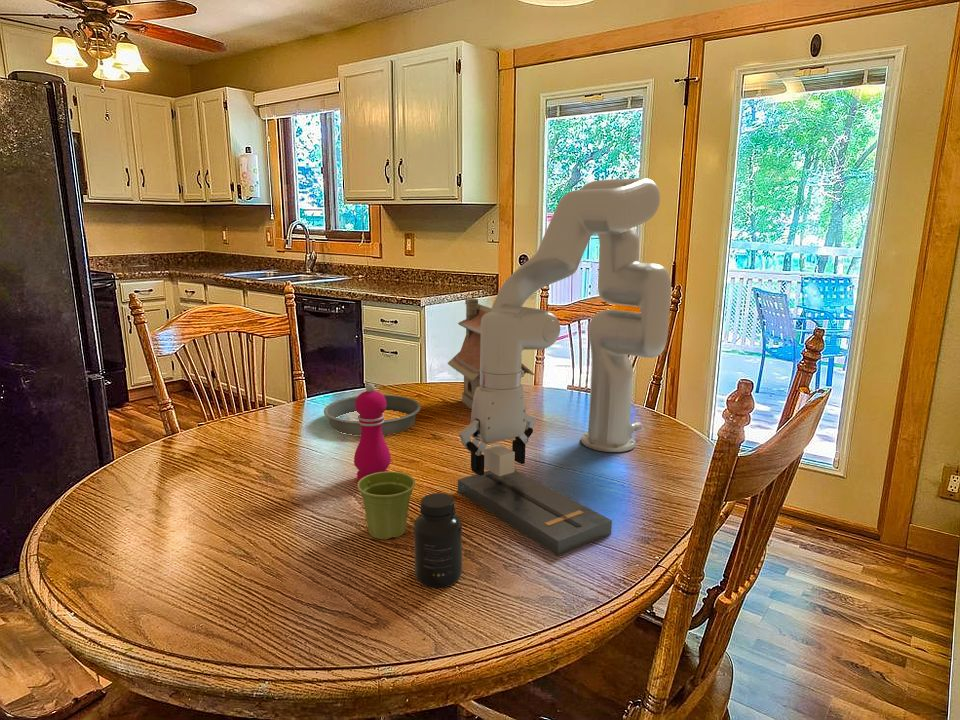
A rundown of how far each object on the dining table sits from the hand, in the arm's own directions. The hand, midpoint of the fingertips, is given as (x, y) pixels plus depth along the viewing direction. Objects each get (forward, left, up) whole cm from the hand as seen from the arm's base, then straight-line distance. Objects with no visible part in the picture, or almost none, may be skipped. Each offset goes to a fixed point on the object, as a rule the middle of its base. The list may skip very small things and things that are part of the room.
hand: (498, 467), depth 113 cm
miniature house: (-31, -44, -6) cm, 54 cm away
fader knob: (0, 0, -2) cm, 2 cm away
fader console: (0, +9, -5) cm, 10 cm away
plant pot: (+24, +1, -6) cm, 25 cm away
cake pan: (+1, -52, -6) cm, 52 cm away
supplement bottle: (+24, +17, -6) cm, 30 cm away
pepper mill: (+17, -19, -6) cm, 26 cm away
